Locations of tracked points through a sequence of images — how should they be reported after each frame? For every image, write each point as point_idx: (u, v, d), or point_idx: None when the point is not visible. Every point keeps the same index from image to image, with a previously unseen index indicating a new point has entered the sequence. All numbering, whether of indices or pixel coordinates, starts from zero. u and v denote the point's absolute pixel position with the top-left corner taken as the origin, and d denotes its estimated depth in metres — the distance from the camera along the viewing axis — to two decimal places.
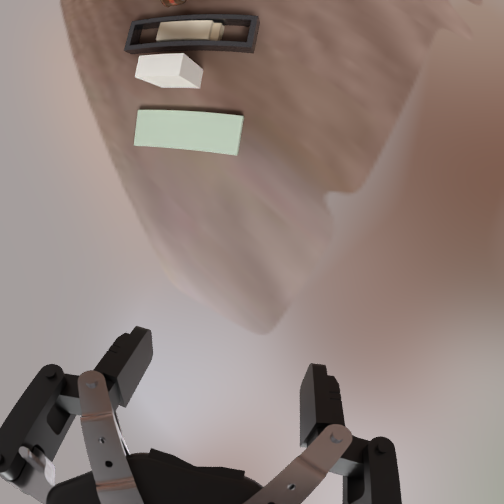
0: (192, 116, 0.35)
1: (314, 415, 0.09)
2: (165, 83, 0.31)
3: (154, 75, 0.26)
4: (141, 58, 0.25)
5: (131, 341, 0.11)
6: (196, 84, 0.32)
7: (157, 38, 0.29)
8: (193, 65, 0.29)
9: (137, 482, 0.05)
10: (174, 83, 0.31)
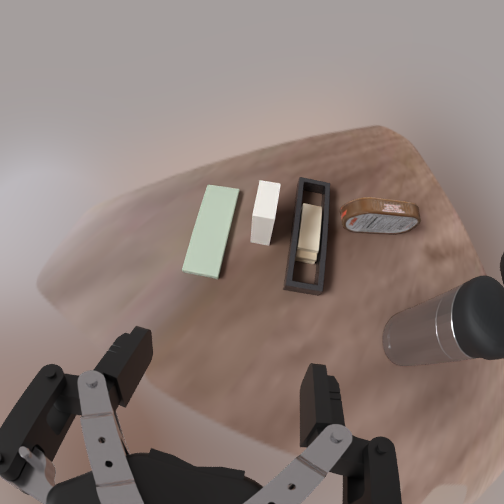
0: (222, 234, 0.44)
1: (314, 415, 0.09)
2: None
3: (257, 195, 0.38)
4: (277, 185, 0.39)
5: (131, 341, 0.11)
6: (252, 237, 0.43)
7: (304, 204, 0.44)
8: (268, 232, 0.40)
9: (137, 482, 0.05)
10: None
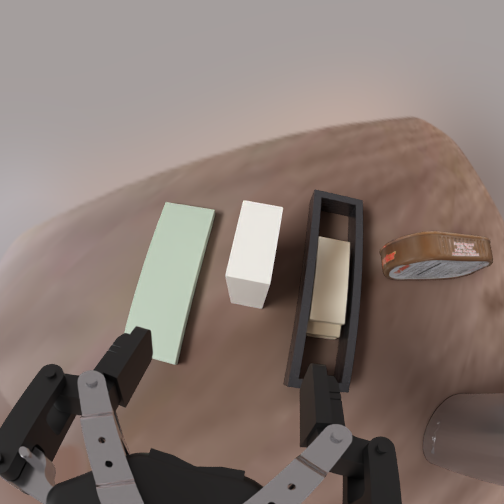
0: (184, 289, 0.25)
1: (314, 415, 0.09)
2: None
3: (237, 232, 0.20)
4: (276, 210, 0.20)
5: (131, 341, 0.11)
6: (232, 298, 0.24)
7: (321, 239, 0.26)
8: (259, 297, 0.22)
9: (137, 482, 0.05)
10: None
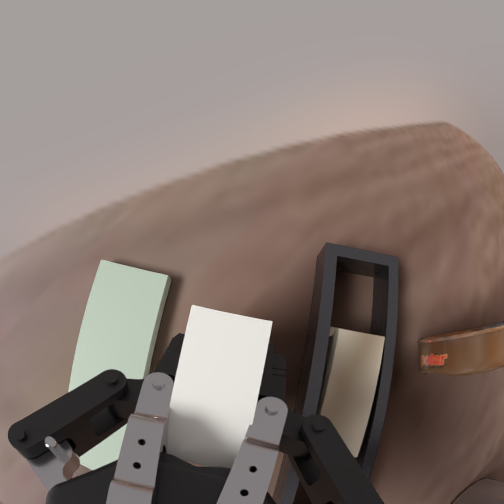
0: None
1: None
2: None
3: (178, 376, 0.09)
4: (258, 330, 0.10)
5: None
6: None
7: (342, 333, 0.15)
8: None
9: None
10: None
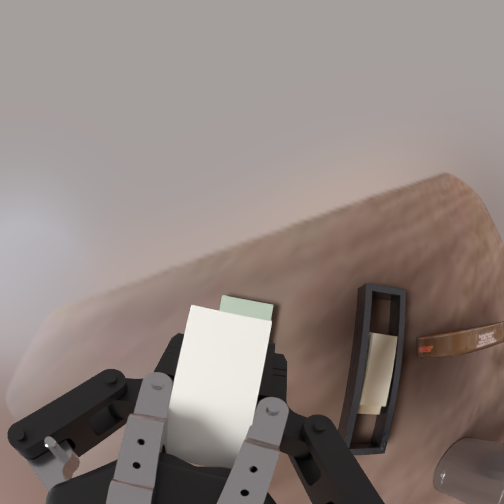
0: None
1: None
2: None
3: (177, 377, 0.09)
4: (258, 330, 0.10)
5: None
6: None
7: (375, 335, 0.27)
8: None
9: None
10: None
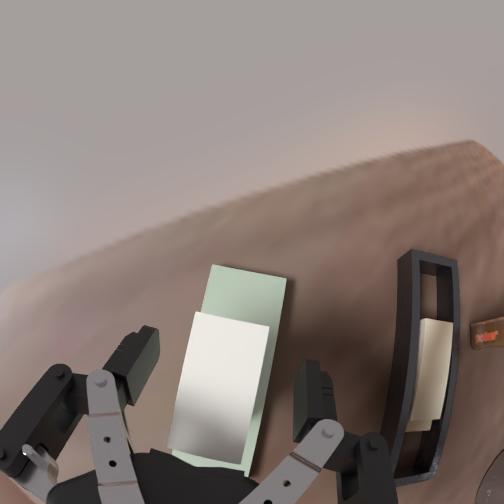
0: None
1: (306, 410, 0.09)
2: None
3: (183, 377, 0.10)
4: (257, 335, 0.11)
5: (139, 340, 0.11)
6: None
7: (427, 321, 0.18)
8: None
9: None
10: None
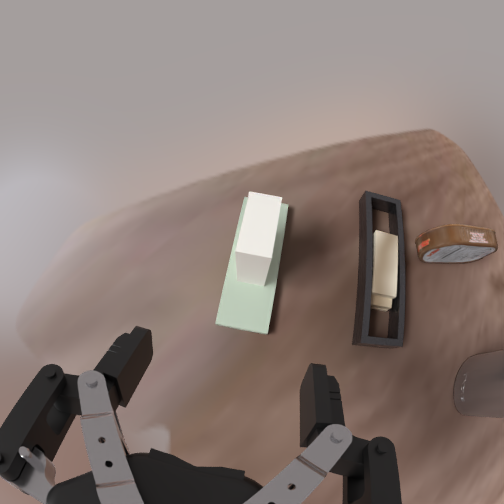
0: (271, 270, 0.31)
1: (314, 415, 0.09)
2: None
3: (244, 217, 0.24)
4: (276, 200, 0.25)
5: (131, 341, 0.11)
6: (238, 276, 0.29)
7: (377, 232, 0.32)
8: (262, 273, 0.26)
9: (137, 482, 0.05)
10: None
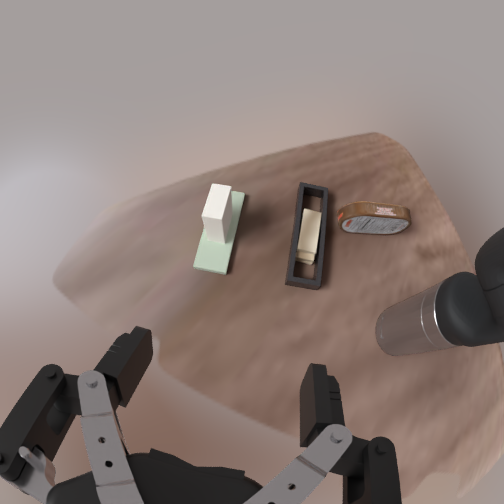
0: (230, 234, 0.48)
1: (314, 415, 0.09)
2: None
3: (208, 198, 0.41)
4: (227, 188, 0.42)
5: (131, 341, 0.11)
6: (207, 236, 0.46)
7: (305, 210, 0.49)
8: (220, 231, 0.44)
9: (137, 482, 0.05)
10: None
